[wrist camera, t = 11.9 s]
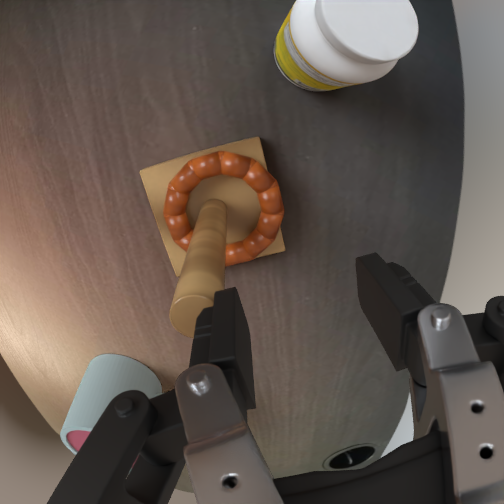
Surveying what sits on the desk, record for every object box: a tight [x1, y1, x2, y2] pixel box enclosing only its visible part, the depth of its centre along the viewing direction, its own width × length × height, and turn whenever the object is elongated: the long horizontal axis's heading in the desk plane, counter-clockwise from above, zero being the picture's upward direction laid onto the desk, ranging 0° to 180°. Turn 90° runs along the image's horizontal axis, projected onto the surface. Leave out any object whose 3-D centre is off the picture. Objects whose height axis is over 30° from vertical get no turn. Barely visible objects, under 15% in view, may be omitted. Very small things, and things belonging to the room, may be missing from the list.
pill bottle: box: [274, 0, 418, 91], centre depth 14 cm, size 6×6×11 cm
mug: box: [60, 354, 164, 473], centre depth 27 cm, size 14×9×10 cm
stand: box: [140, 136, 285, 338], centre depth 18 cm, size 9×9×14 cm
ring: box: [163, 150, 284, 267], centre depth 22 cm, size 8×8×2 cm
